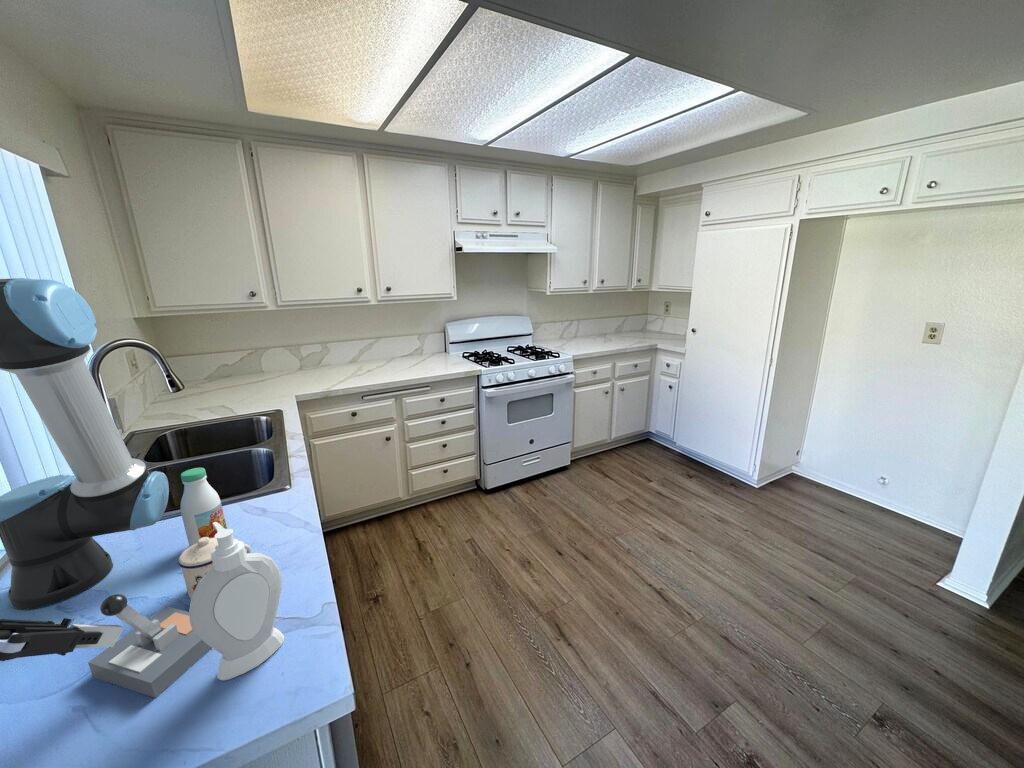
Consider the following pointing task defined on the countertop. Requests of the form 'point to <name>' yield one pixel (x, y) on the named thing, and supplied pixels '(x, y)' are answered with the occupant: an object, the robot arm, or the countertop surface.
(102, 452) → the robot arm
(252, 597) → the soap bottle
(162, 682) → the switch base
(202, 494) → the milk bottle
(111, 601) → the lever
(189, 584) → the teacup with lid
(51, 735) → the countertop surface
